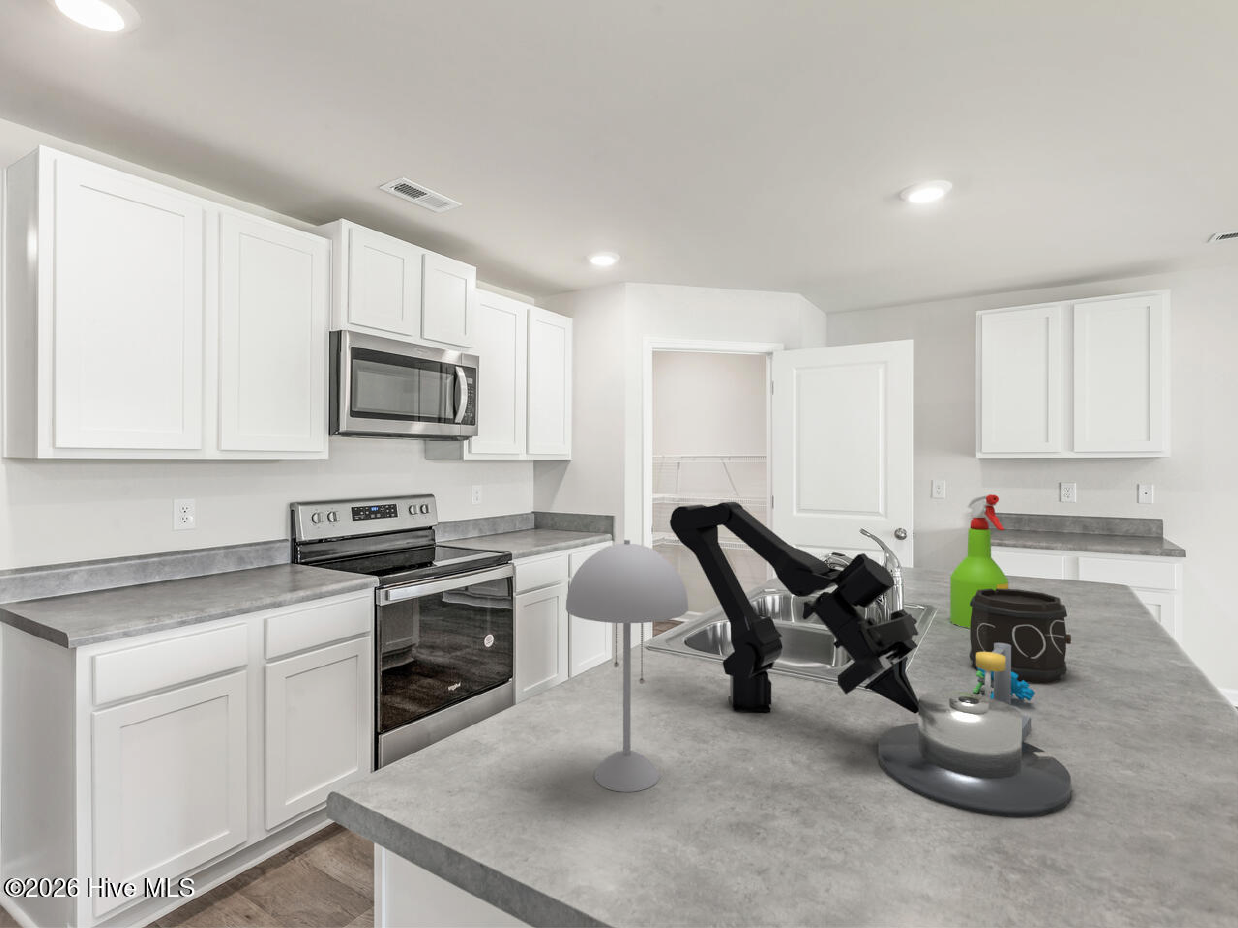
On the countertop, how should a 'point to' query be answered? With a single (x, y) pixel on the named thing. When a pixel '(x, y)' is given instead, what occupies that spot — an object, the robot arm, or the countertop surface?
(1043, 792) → the turntable
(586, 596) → the lamp
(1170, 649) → the countertop surface
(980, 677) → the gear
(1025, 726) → the gauge stand
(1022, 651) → the wooden barrel
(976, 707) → the cover
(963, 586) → the spray bottle
